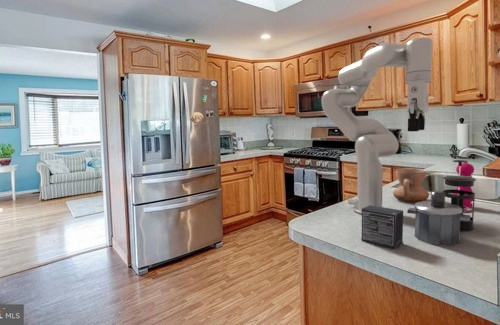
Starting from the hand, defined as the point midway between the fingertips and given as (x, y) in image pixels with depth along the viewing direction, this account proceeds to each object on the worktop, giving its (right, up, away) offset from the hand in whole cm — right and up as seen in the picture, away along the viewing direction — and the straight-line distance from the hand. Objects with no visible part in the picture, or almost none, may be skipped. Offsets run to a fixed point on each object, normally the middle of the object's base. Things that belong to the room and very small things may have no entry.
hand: (416, 130), depth 101 cm
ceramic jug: (+18, -28, +37) cm, 50 cm away
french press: (+15, -33, +2) cm, 36 cm away
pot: (+3, -34, -7) cm, 35 cm away
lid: (+2, -25, -8) cm, 27 cm away
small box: (-15, -36, -8) cm, 39 cm away
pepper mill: (+33, -30, +24) cm, 50 cm away
